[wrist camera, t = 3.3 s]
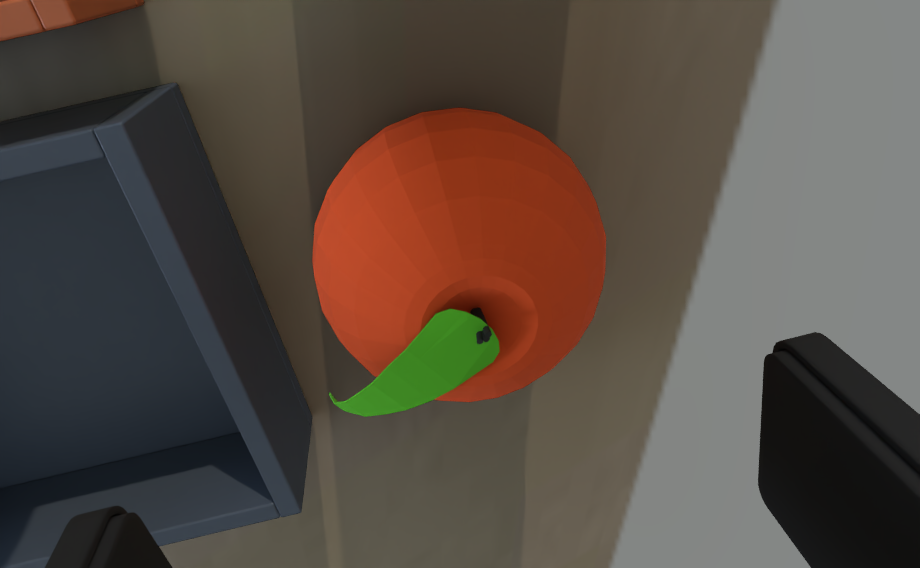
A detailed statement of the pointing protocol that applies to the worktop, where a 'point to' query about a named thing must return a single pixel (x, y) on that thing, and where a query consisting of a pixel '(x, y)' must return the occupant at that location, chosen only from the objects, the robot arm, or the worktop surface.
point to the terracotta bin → (54, 14)
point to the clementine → (457, 259)
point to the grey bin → (133, 335)
